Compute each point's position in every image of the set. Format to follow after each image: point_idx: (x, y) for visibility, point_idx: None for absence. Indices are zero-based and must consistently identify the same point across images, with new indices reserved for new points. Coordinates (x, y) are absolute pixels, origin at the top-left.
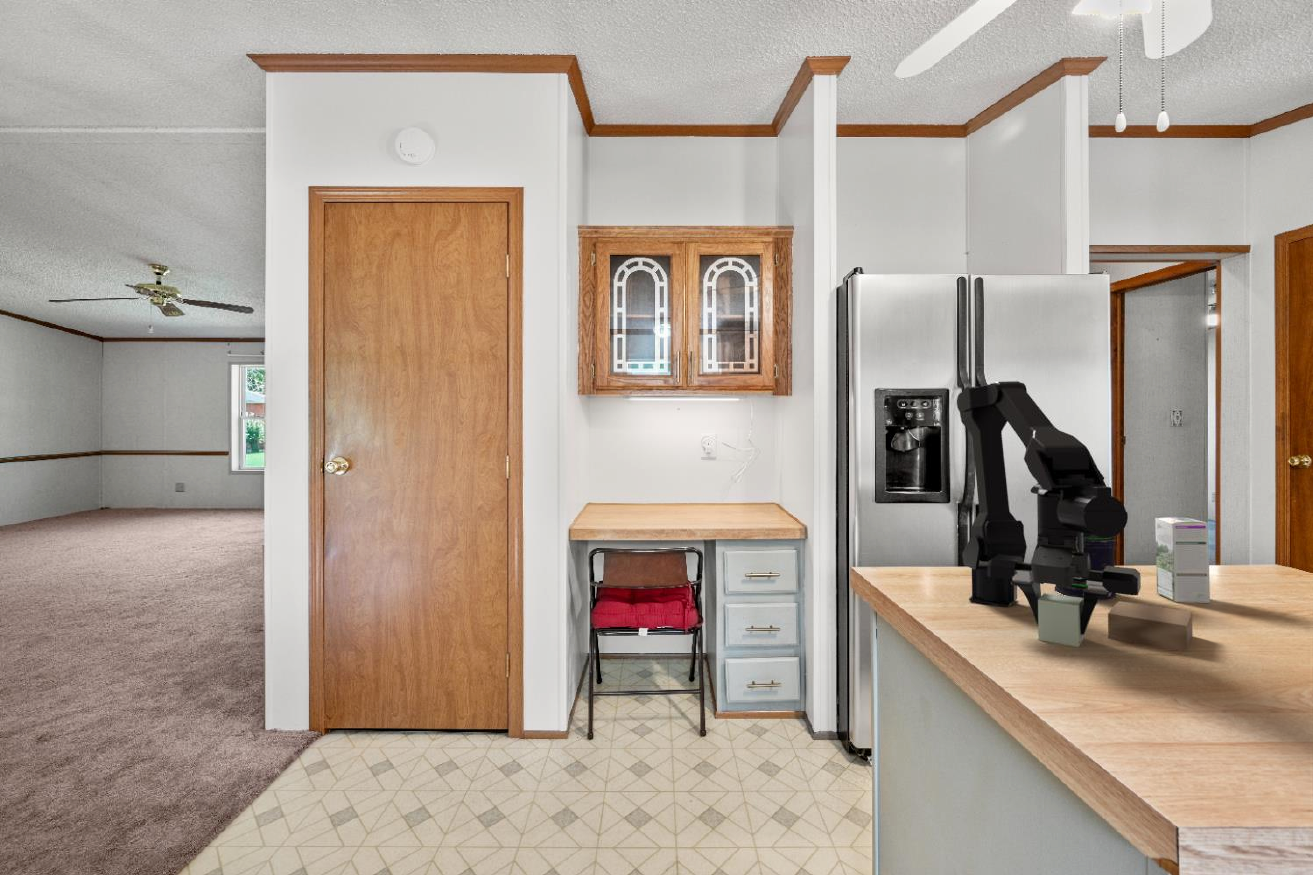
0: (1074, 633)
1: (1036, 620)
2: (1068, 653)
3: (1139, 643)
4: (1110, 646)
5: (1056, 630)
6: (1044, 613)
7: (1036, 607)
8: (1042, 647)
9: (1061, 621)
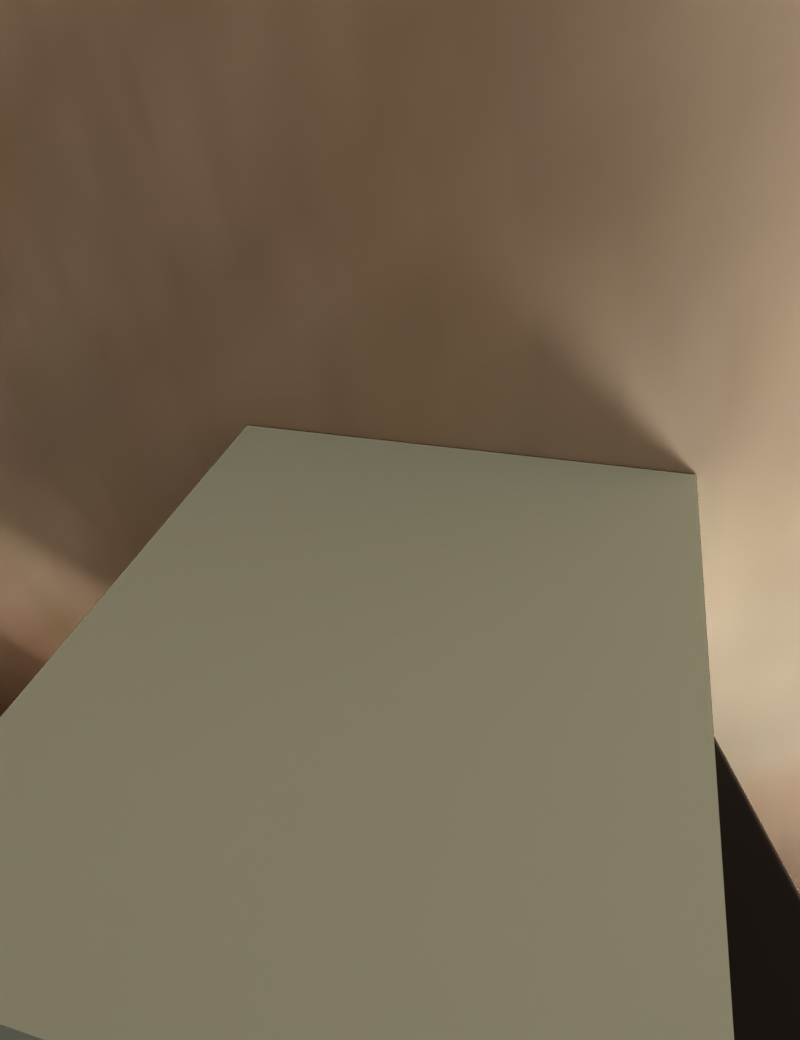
0: (211, 523)
1: (731, 786)
2: (246, 30)
3: (3, 705)
4: (74, 574)
5: (435, 558)
6: (585, 819)
7: (753, 1021)
8: (636, 100)
9: (309, 659)
